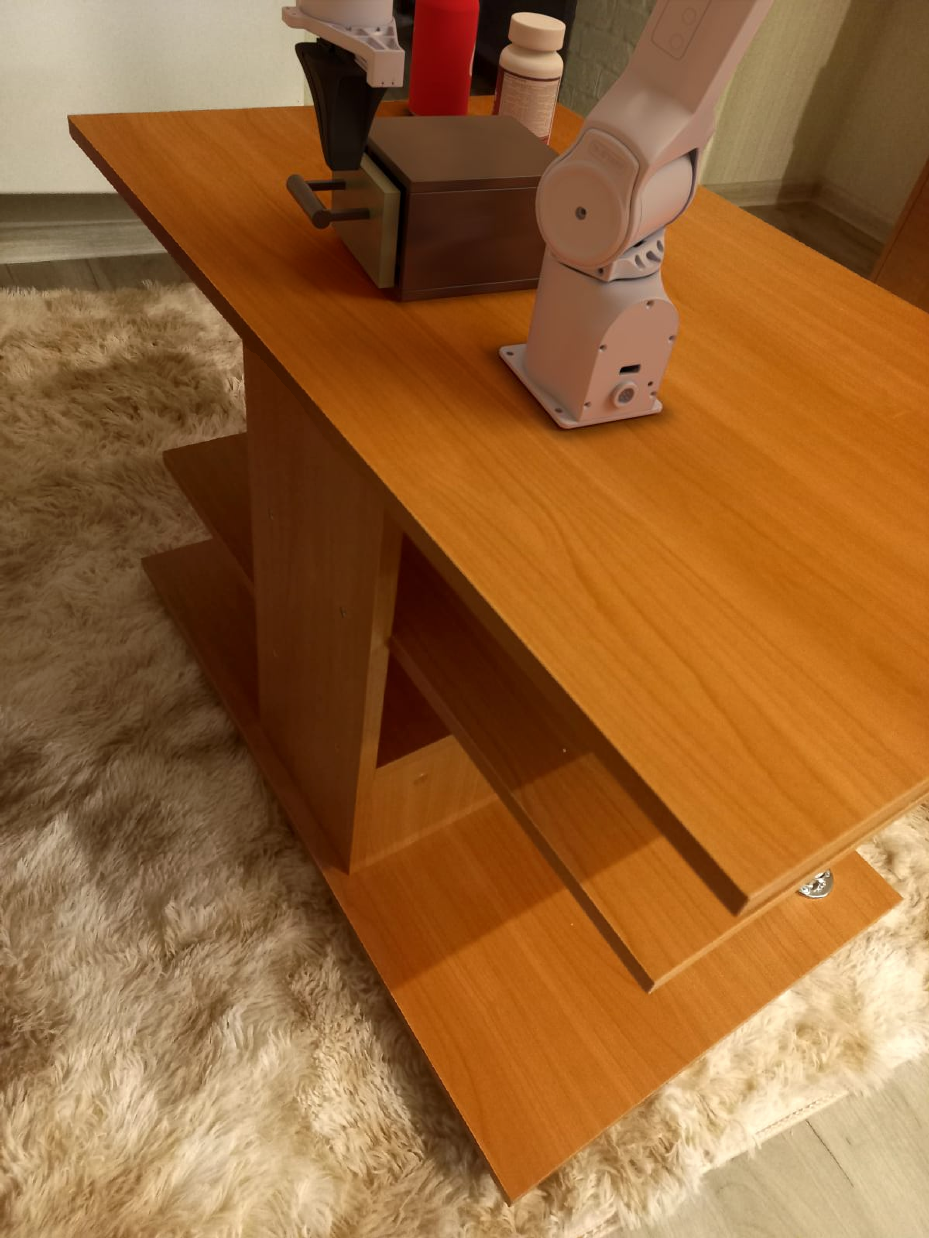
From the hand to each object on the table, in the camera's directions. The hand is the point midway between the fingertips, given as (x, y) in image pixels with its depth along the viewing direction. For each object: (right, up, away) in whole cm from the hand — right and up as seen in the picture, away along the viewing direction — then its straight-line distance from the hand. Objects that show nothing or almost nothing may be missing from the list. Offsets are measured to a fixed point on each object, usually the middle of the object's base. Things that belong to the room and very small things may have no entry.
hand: (342, 167), depth 61 cm
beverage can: (+6, +21, +31) cm, 38 cm away
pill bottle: (+14, +16, +28) cm, 35 cm away
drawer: (+4, -3, +7) cm, 8 cm away
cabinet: (+8, -3, +9) cm, 12 cm away
